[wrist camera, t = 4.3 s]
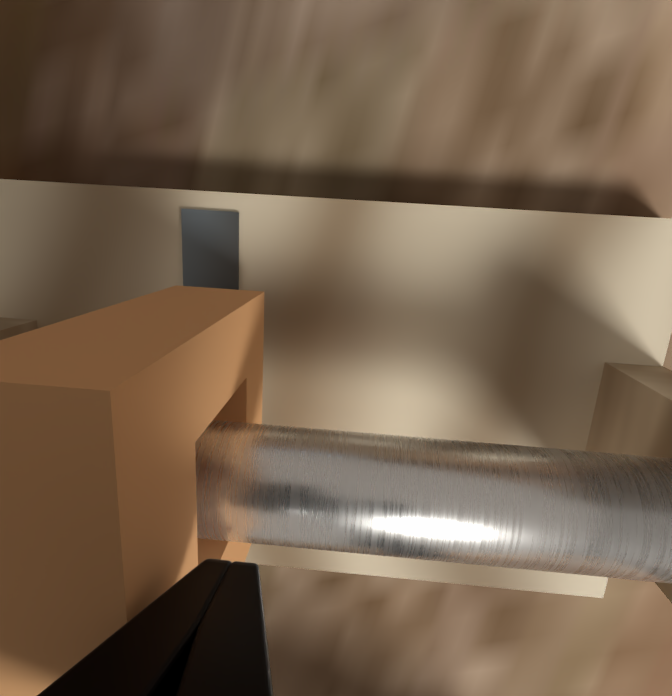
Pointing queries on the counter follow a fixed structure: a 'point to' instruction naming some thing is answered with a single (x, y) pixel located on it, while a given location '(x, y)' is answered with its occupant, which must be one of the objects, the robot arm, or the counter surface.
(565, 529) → the pipe
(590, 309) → the stand
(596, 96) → the counter surface
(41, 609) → the slotted orange block
